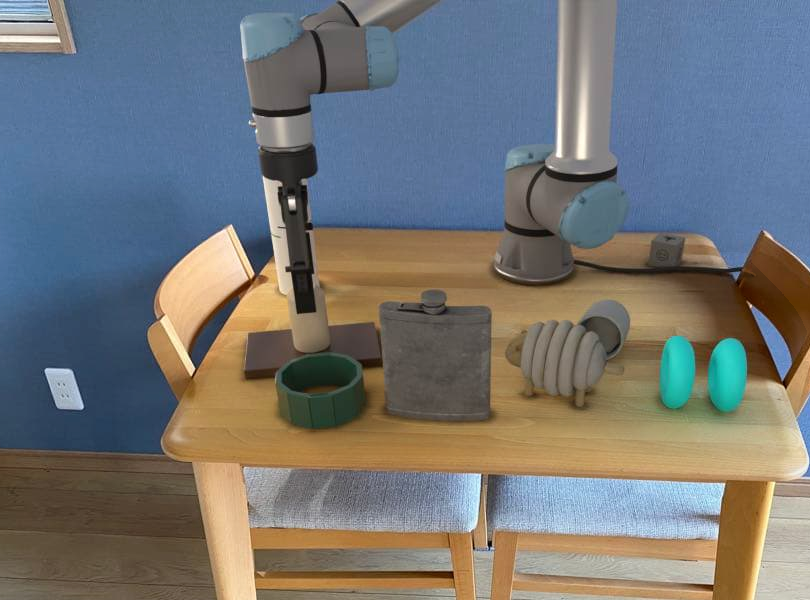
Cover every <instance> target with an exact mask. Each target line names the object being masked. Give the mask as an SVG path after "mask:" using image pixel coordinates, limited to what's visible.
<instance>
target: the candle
mask: <svg viewBox="0 0 810 600" xmlns="http://www.w3.org/2000/svg"><path fill="white" fill-rule="evenodd" d="M319 286H320V285H319ZM319 286H317V285H316V284H315V283H313V288H314V295H315V303H316V313H304V314H297V311H296V304H295V297H294V290H293V288H292V289H291V290H290V291H289V292H288V293H287V295H286V301H287V309H288V313H289V314H288V315H289V321H290V329H292V335H293V342H294V346H295V348H296V349H297V350H298V351H300V352H305V353H314V352H319V351H322V350H324V349H326V348H327V347H328V346H329V345H330V335H329V326H330V325H329V319H328V311H327V302H326V294H325V290H323V288H321V287H319Z"/></svg>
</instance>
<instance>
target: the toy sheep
mask: <svg viewBox="0 0 810 600" xmlns="http://www.w3.org/2000/svg"><path fill="white" fill-rule="evenodd" d="M574 325H575V326H574ZM504 355H505V356H504V357H505V359H506V360H507V362H508V363H509V364H510V365H512V366H514V367H517V368H520V371H521V374H522V376H523V377H524V378H525V379H524V380H525V381H524V395H525V396H526V397H531V396H533V395H534V391H535V388H536V389H538V390H545V392H546V393H547V394H548V395H549V396H551V397H556V396H559V395H561V396H563V397H565V398H567V397H571V396H572V395H573V394H574V393H575V399H574V405H575V406H576V407H578V408H582V407H583V406H584V405H585V396H586V393H589V392H591V391H592V387H593V386H595V385H596V384H598V382H599V381H600V380H601V379H602V377H603V376H604V374H605V373H606V374H610V375H615V376H619V377H621V376H623V375H624V374H625V373H624V372H625V366H624V365H623V364H619V363H616V362H611V361H608V360H607V356H606V352H605V349H604V347H603V345H602V344H601V343H600V341H599V336H598V335H597V334H596V333H595V332H592V331H590V332H587V331H586V329H585V327H584V326H582V325H576V324H574V323H573V322H572V321H571V320H567V319H565V320H562V321H560V322H559V321H558V320H556V319H549V320H548V321H546V322H543V321H535V322H534V323H533V324H532V325H530V327H529V329H528V330H526V329H522V330H521V331H520V334H519V335H517V336H516V337H514V338H513V339H511V340H510V342H509V343H508V344H507V345H506V348H505V351H504Z"/></svg>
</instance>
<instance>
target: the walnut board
mask: <svg viewBox="0 0 810 600" xmlns="http://www.w3.org/2000/svg"><path fill="white" fill-rule="evenodd" d="M328 326H329V335H330V345H329V346H328V347H327V348H326V349H324V350H322V351H319V352H314V353H305V352H300V351H298V350H297V349H296V348H295V346H294V342H293V335H292V329H291V328H288V329H277V330H265V331H264V330H263V331H254V332H252V331H251V332H247V339H246V348H245V354H244V355H245V356H244V366H243V373H244V379H245V380H250V379H260V378H261V379H262V378H271V377H276V372H277V371H278V370H279V369H280V368H281V367H282V366H283V365H284V364H286V363H287V362H288V361H290V360H293V359H296V358H298V357H301V356H304V355H308V354H315V353H325V352H332V353H337V354H343V355H348V356H350V357H352V358H353V359H355V360H356V361H358V362H359V363H361V364H362V369H363V368H374V367H382V366H383V361H382V353H381V350H380V349H381V348H380V344H379V340H378V333H377V329H376V323H375V321H367V322H366V321H365V322H356V323H355V322H354V323H345V324H334V325H328Z"/></svg>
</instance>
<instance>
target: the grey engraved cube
mask: <svg viewBox="0 0 810 600" xmlns="http://www.w3.org/2000/svg"><path fill="white" fill-rule="evenodd" d="M685 242H686V237H684V236H680V235H675V234H669V233H665V232H659V233H658V234H657V235H656V236H655V237H653V238H652V240H651V241H650V248H649V249H650V250H649V257H648V263H647V265H648V266H649V267H653V268H662V267H674V266H680V264H681V263H682V261H683V257H684V256H683V254H684V248H685Z"/></svg>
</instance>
